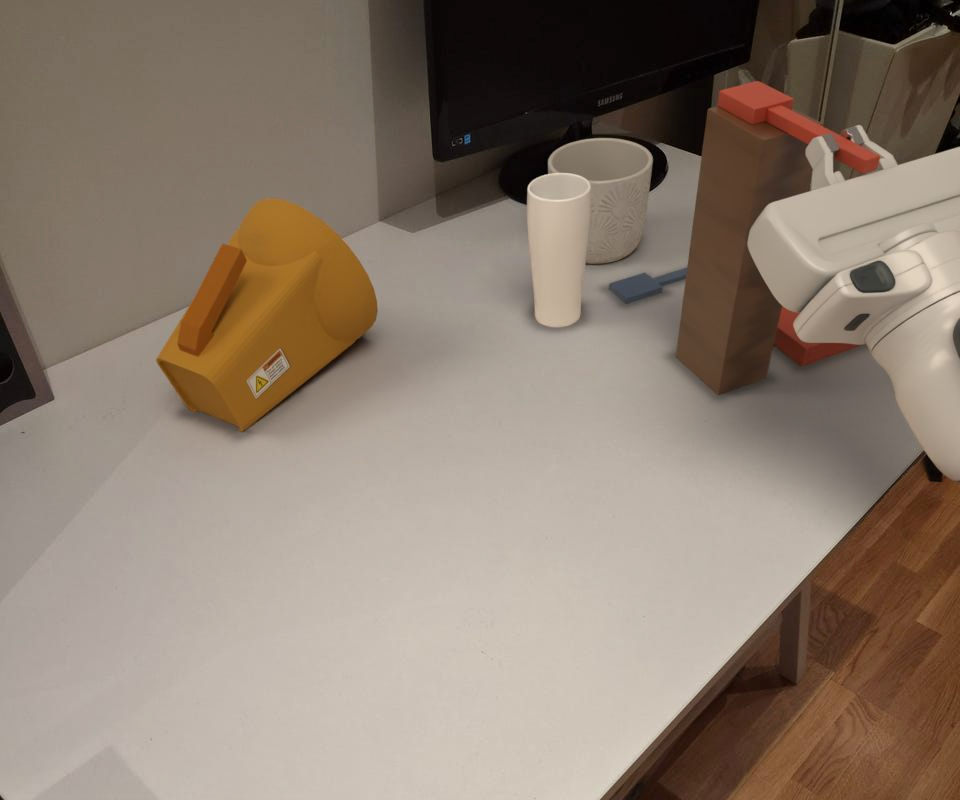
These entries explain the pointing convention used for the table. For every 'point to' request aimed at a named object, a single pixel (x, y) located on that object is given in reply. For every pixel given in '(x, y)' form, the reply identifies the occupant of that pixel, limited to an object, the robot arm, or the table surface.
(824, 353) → the red tray
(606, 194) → the planter
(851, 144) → the red spoon
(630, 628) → the table surface
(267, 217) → the flared yellow plastic housing
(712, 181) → the stand
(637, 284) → the blue spoon
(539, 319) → the drinking glass
